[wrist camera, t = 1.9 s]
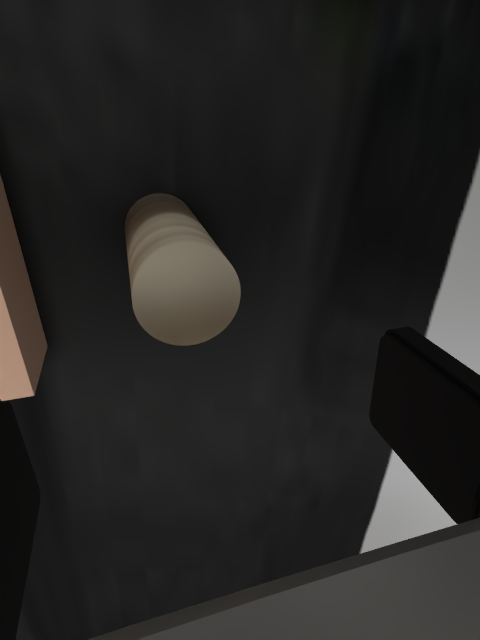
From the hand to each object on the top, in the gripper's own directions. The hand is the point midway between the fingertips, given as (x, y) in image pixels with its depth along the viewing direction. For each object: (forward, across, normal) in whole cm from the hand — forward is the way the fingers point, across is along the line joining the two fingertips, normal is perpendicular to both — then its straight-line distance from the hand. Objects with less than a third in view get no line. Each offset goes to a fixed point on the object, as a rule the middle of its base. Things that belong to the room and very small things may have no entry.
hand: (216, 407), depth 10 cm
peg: (+16, 0, -1) cm, 16 cm away
